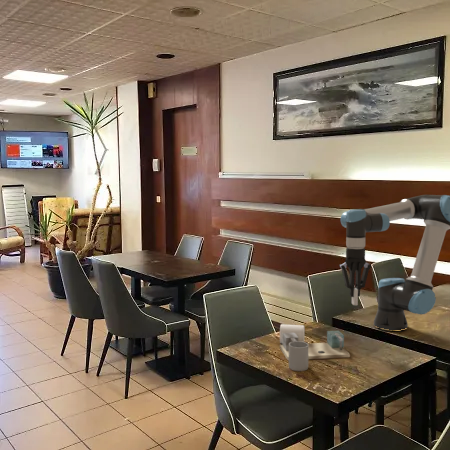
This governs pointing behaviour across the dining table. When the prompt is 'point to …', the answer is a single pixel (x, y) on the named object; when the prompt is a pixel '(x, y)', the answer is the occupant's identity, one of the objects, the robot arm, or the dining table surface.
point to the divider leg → (335, 339)
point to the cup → (298, 356)
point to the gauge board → (313, 348)
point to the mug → (292, 331)
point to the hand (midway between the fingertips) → (354, 304)
